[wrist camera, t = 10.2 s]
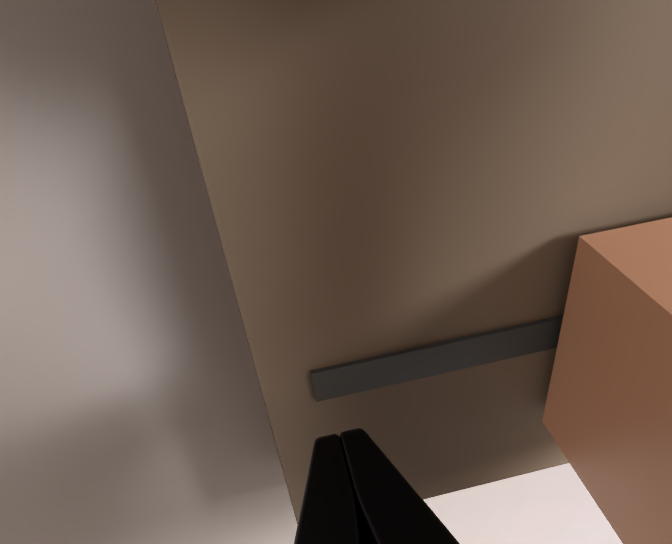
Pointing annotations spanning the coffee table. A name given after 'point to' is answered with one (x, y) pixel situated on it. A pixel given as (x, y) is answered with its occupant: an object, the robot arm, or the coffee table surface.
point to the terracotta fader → (619, 378)
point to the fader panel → (419, 205)
